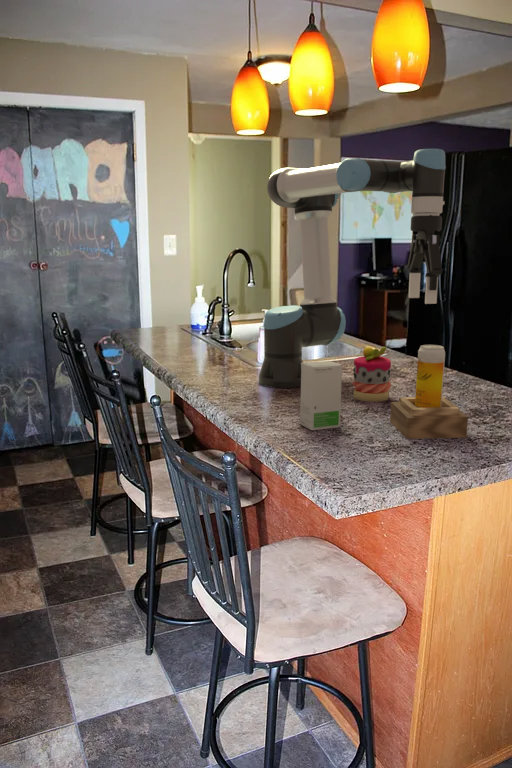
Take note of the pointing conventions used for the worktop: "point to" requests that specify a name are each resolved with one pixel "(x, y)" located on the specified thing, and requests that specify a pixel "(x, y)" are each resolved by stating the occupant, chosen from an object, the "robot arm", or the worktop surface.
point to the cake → (372, 376)
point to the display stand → (428, 420)
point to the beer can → (430, 376)
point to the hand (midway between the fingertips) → (421, 300)
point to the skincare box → (320, 395)
